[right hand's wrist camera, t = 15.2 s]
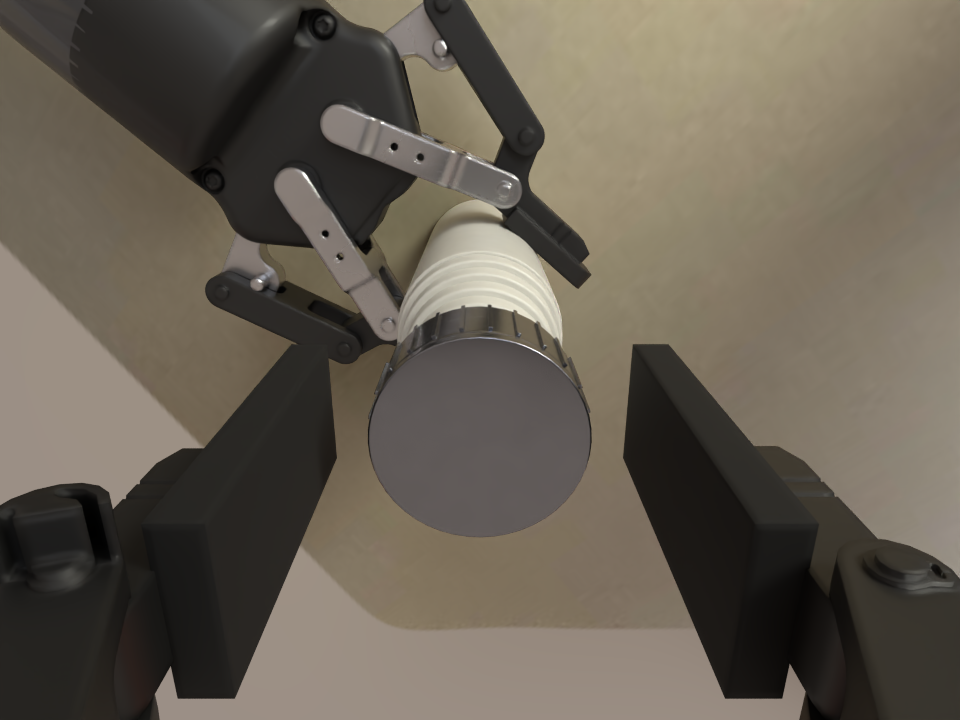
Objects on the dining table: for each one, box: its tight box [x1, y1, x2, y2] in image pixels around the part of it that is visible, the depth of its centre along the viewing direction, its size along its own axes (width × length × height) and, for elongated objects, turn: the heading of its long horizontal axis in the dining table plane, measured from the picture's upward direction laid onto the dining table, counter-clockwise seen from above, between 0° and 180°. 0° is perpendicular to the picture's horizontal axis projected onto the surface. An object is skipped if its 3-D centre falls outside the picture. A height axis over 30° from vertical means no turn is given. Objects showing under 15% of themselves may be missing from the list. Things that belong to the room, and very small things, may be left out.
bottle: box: [397, 200, 562, 347], centre depth 22 cm, size 5×5×19 cm
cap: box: [368, 304, 592, 537], centre depth 13 cm, size 4×4×2 cm
